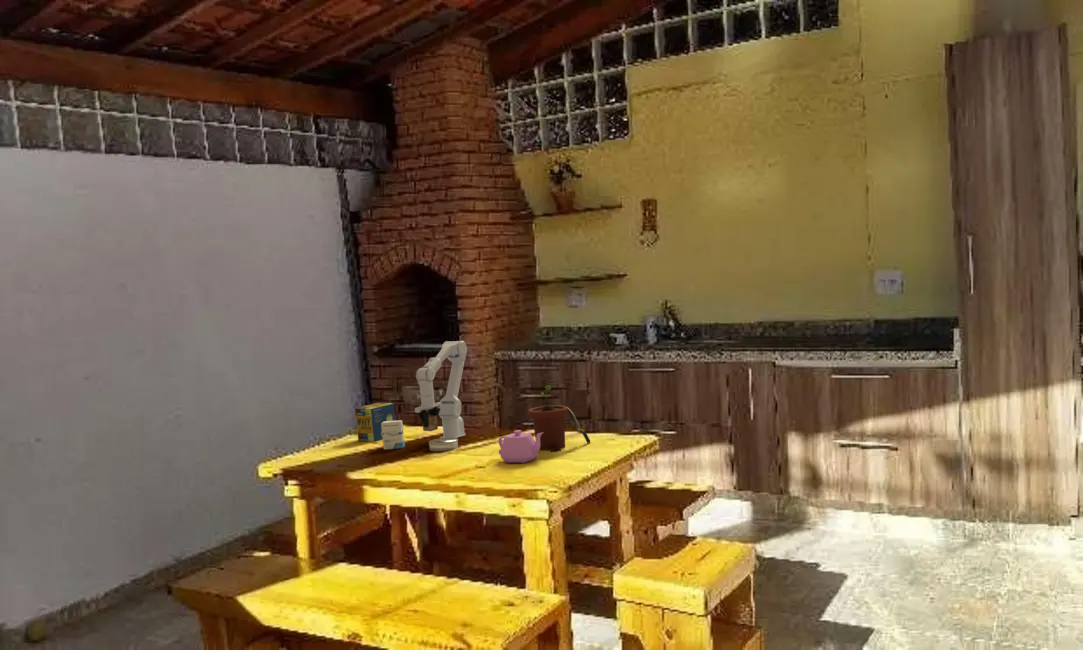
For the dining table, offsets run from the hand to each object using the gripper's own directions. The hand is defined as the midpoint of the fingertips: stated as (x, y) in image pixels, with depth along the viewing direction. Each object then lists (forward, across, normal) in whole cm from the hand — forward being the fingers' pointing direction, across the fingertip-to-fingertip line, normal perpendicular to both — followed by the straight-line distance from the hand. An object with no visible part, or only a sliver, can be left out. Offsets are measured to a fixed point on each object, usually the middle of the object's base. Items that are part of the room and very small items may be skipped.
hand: (430, 425), depth 386 cm
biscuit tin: (+8, +4, +11) cm, 14 cm away
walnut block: (+2, 0, 0) cm, 2 cm away
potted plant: (+8, -11, +60) cm, 62 cm away
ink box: (+8, +10, -13) cm, 19 cm away
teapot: (+8, +13, +61) cm, 63 cm away
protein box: (+9, -4, -39) cm, 40 cm away
